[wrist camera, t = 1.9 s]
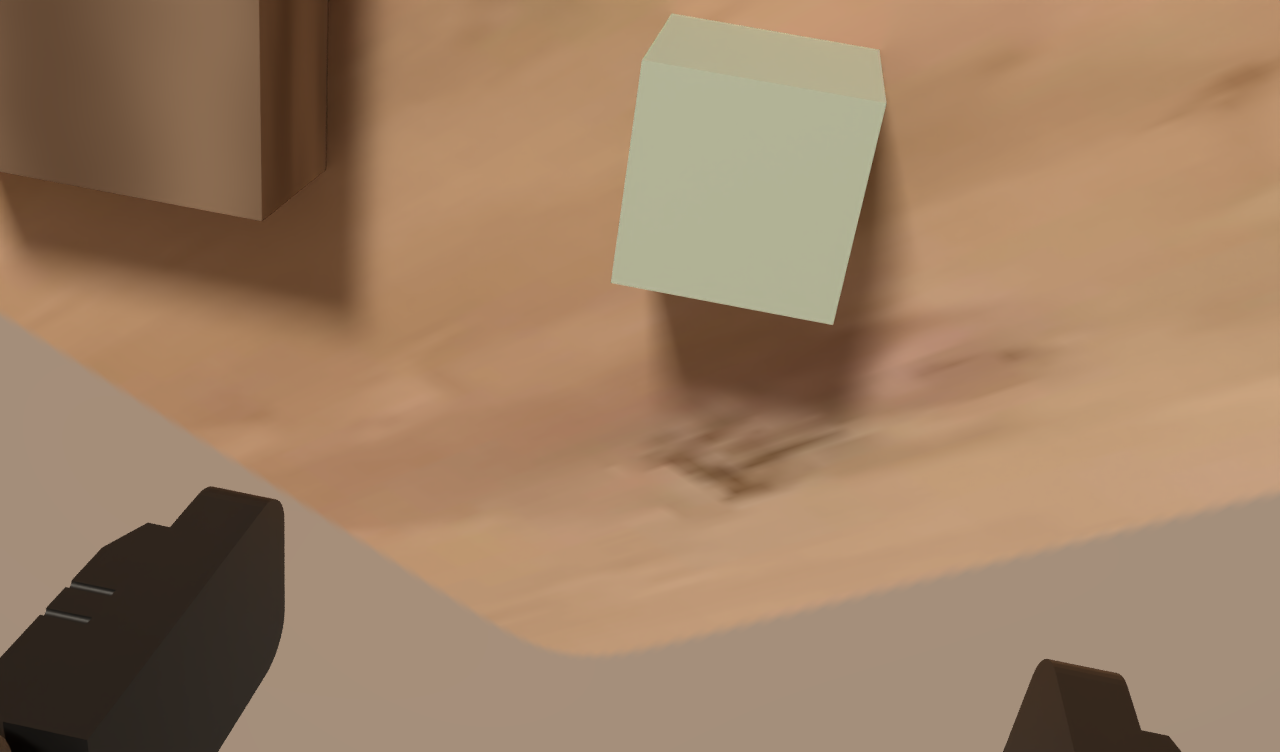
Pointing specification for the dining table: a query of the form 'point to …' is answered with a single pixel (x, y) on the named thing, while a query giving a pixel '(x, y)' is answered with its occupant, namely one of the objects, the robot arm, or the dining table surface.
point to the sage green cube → (748, 167)
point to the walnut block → (167, 98)
